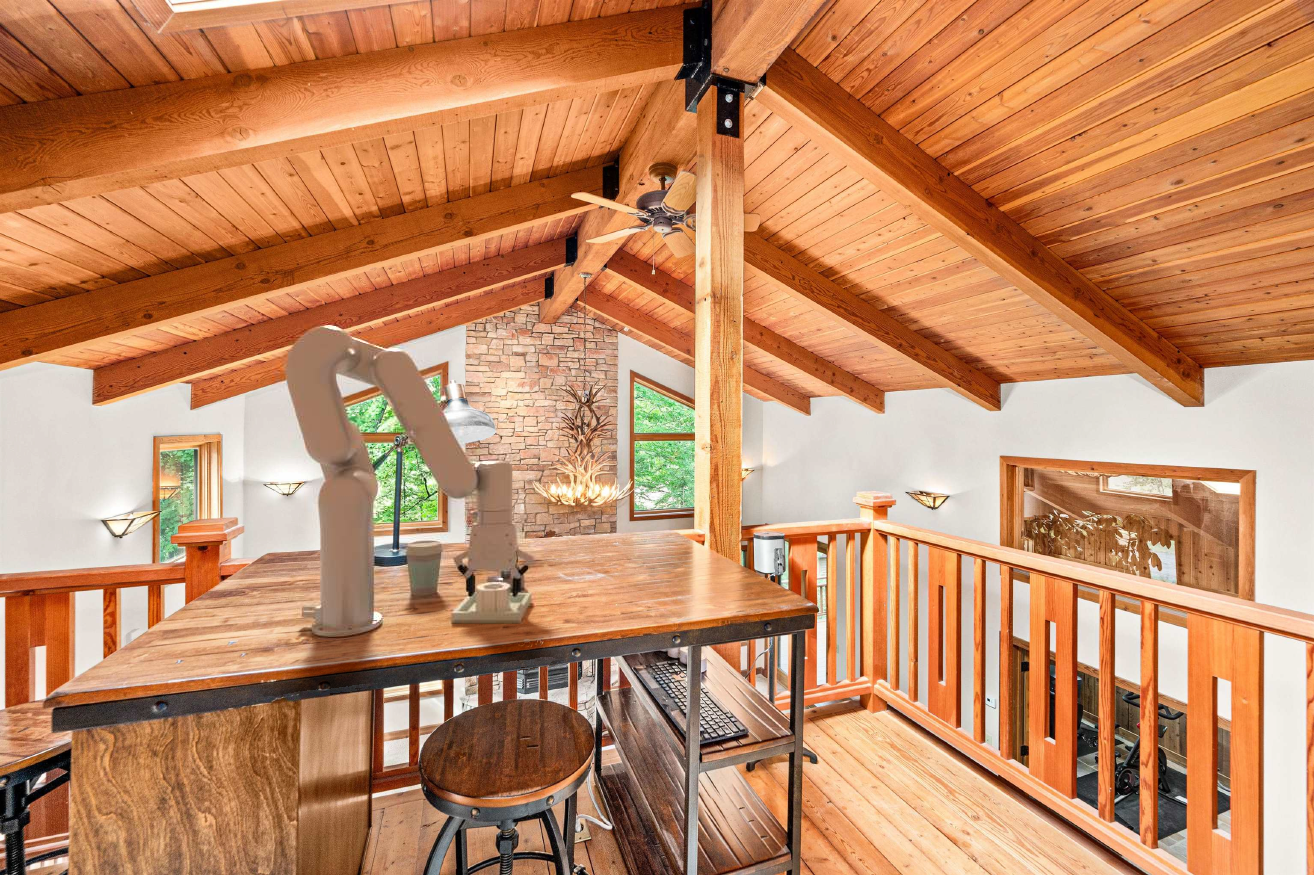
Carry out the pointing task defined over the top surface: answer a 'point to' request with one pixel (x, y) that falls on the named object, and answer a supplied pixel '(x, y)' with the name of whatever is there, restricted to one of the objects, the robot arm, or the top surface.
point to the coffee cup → (423, 566)
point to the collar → (493, 597)
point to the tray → (469, 614)
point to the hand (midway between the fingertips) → (493, 594)
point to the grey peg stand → (505, 579)
